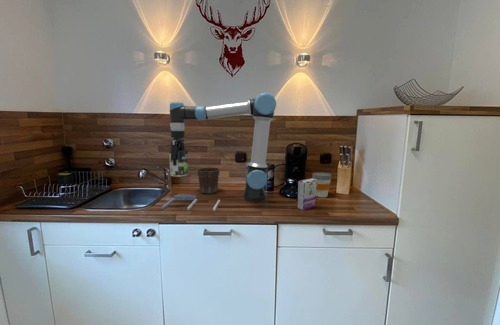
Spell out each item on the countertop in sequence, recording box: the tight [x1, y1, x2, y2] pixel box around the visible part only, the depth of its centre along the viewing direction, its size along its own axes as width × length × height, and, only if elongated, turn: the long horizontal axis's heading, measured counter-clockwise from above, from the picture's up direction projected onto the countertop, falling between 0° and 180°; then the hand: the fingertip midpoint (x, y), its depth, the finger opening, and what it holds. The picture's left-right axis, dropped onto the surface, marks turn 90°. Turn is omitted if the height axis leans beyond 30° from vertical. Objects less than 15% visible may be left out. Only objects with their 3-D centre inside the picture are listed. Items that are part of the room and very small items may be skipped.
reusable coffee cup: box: [311, 171, 332, 198], centre depth 161 cm, size 13×13×15 cm
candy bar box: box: [297, 178, 317, 211], centre depth 137 cm, size 11×5×16 cm, turn 126°
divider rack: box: [161, 194, 221, 212], centre depth 140 cm, size 30×18×2 cm, turn 87°
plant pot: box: [196, 167, 221, 195], centre depth 167 cm, size 16×16×16 cm
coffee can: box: [168, 149, 189, 178], centre depth 136 cm, size 10×10×14 cm
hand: (179, 169), depth 137 cm, fingers closed on coffee can, 10 cm apart
